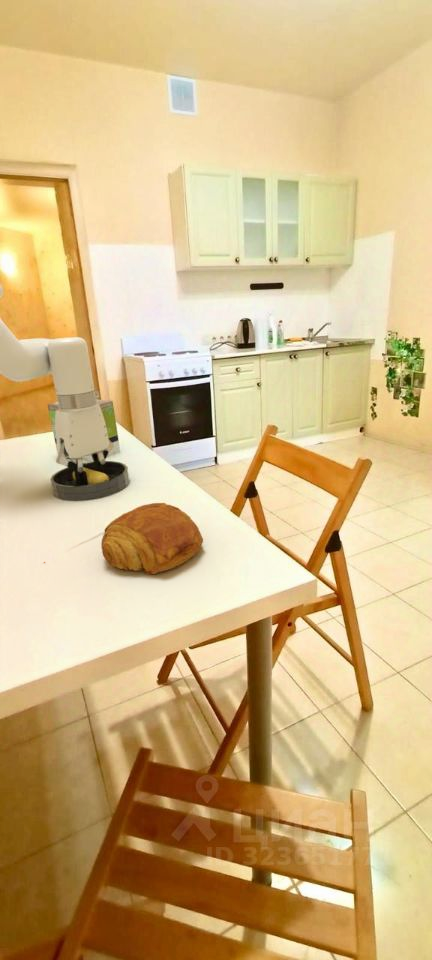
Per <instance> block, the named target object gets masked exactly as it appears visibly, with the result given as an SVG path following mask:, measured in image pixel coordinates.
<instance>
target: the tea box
mask: <svg viewBox="0 0 432 960" xmlns="http://www.w3.org/2000/svg"><path fill="white" fill-rule="evenodd" d="M96 401H97V402H96V403H97V404H99V406H100V408H101V411H102V414H103V417H104V420H105V424H106V428H107V433H108V439H109V440H110V441H111V442H112V444H113V445H114V447H113V448H112V450H111V451H110V452H109V453H108V455H107V457H106V458H108V457H110V456H113V455H116V454H119V453H121V449H120V442H119V441H120V440H119V434H118V428H117V419H116V413H115V407H114V401H113V400H107V399H98V398H96ZM47 410H48V415H49V419H50V424H51V428H52V433H53V438H54V443H55V447H56V452H57V455H58V454H59V452H58V447H57V440H56V431H55V411H56V410H59V406H58V401H56V402H53V403H49V404H48V403H47ZM66 458H68V459H70V457H69V456H67V457H66ZM83 462H87V463H88V462H94V461H93V458H92V455H88V456H85V457H83Z"/></svg>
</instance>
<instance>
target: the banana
mask: <svg viewBox="0 0 432 960" xmlns="http://www.w3.org/2000/svg"><path fill="white" fill-rule="evenodd" d="M83 471H86V474H87V480H88V485H91V484H97V483H101V482H105V481H108V480H109V478H108V476H107V475H106V474H104V473H101V472H98V471H94V470H91V469H87V468H84V467H83ZM73 479H74V480H75V481H76V479H75V474H74V472H73Z"/></svg>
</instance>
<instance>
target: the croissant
mask: <svg viewBox="0 0 432 960" xmlns="http://www.w3.org/2000/svg"><path fill="white" fill-rule="evenodd" d="M203 542H204V538H203V536H202V534H201V531H200V529H199V526H198V525H197V524H196V523H195V522H194V520H193V519H192V518H191V517H190V515H189V514H188V513H186V512H185V511H183V510H182V509H180V508H179V507H176V506H174V505H171V504H167V503H166V502H153V503H147V504H142V505H140V506H138V507H136V508H134V509H132V510H129V511H128V512H127V511H126V512H125V513H122V514H121V515H119V516H118V517H116V518H115V519H113V520H112V521H111V522H110V523H109V524H108V525H106V527H105V528H104V533H103V535H102V538H101V553H102V556H103V558H104V560H106V561H107V562H108V563H109V565H111V566H112V567H113V568H117V569H121V570H125V571H126V572H127V571H129V570H132V571H134V572H140V571H142V573H143V574H145V575H155V574H158V573H162V572H165V571H168V570H172V569H175V568H176V567H180V565H182V564H184V563H186V562H188V561H189V560H190V559H192V558H193V556H195V555H196V554H197V552H199V551H200V550H201V547H202V546H203Z"/></svg>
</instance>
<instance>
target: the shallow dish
mask: <svg viewBox="0 0 432 960" xmlns="http://www.w3.org/2000/svg"><path fill="white" fill-rule="evenodd" d="M93 463H94V462H88V461H87V462H83V467H84V468H87V469H91V470H93V469H92V464H93ZM103 467H104V473H105V474H106V475H107V476H108V478H109V480H108V481H105V482H101V483H97V484H91V485H82V486H78V485H77V484H76V481H75V480H74V479H73V472H74V471H73V470H71V469H70V468H69V467H67V466H66V467H65V468H63V469H61V470H58V471H56V472H55V473H53V474H52V475H51V477H50V479H49V481H50V485H51V490H52V494H53V496H54V497H55V498H57V499H60V500H62V501H68V502H71V501H72V502H81V501H82V502H83V501H90V500H97V499H102V498H106V497H109V496H112V495H114V494H117V493H120V492H121V491H123V490H124V489H125V488H127V487H128V486H129V484H130V481H131V480H130V473H129V467H128V466H127V465H126V464H125V463H123V462H119V461H114V460H105V464H104V465H103Z"/></svg>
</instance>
